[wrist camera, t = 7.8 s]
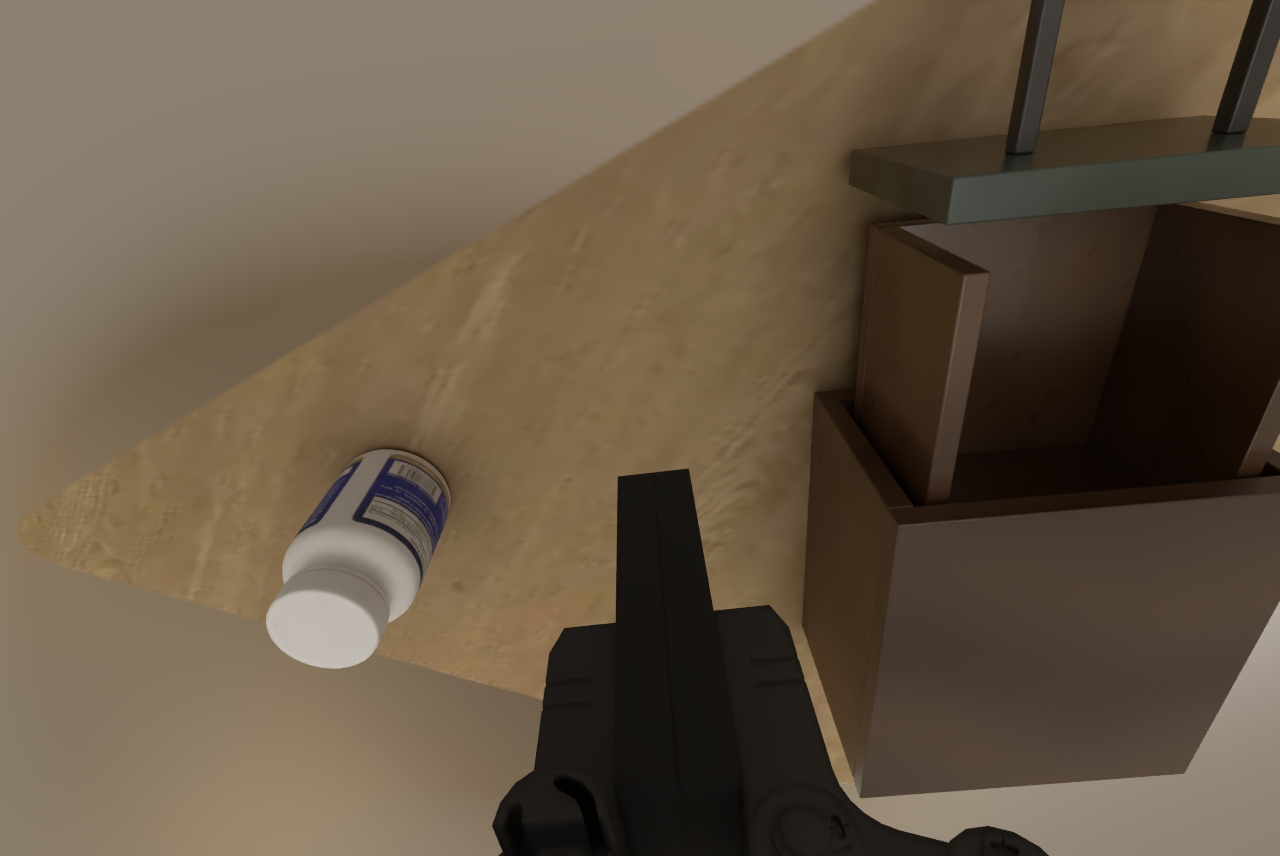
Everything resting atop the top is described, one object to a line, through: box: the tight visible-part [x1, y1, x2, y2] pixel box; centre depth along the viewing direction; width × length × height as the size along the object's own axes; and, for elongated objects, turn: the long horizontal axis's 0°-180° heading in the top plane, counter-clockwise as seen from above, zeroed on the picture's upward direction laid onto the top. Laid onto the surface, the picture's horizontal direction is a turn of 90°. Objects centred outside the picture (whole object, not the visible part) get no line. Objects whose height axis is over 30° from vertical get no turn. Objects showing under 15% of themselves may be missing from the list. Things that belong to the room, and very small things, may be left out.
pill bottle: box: [266, 449, 451, 668], centre depth 26 cm, size 5×5×9 cm
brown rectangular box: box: [802, 389, 1280, 798], centre depth 27 cm, size 15×14×10 cm
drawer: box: [849, 0, 1280, 507], centre depth 20 cm, size 20×13×8 cm, turn 5°
